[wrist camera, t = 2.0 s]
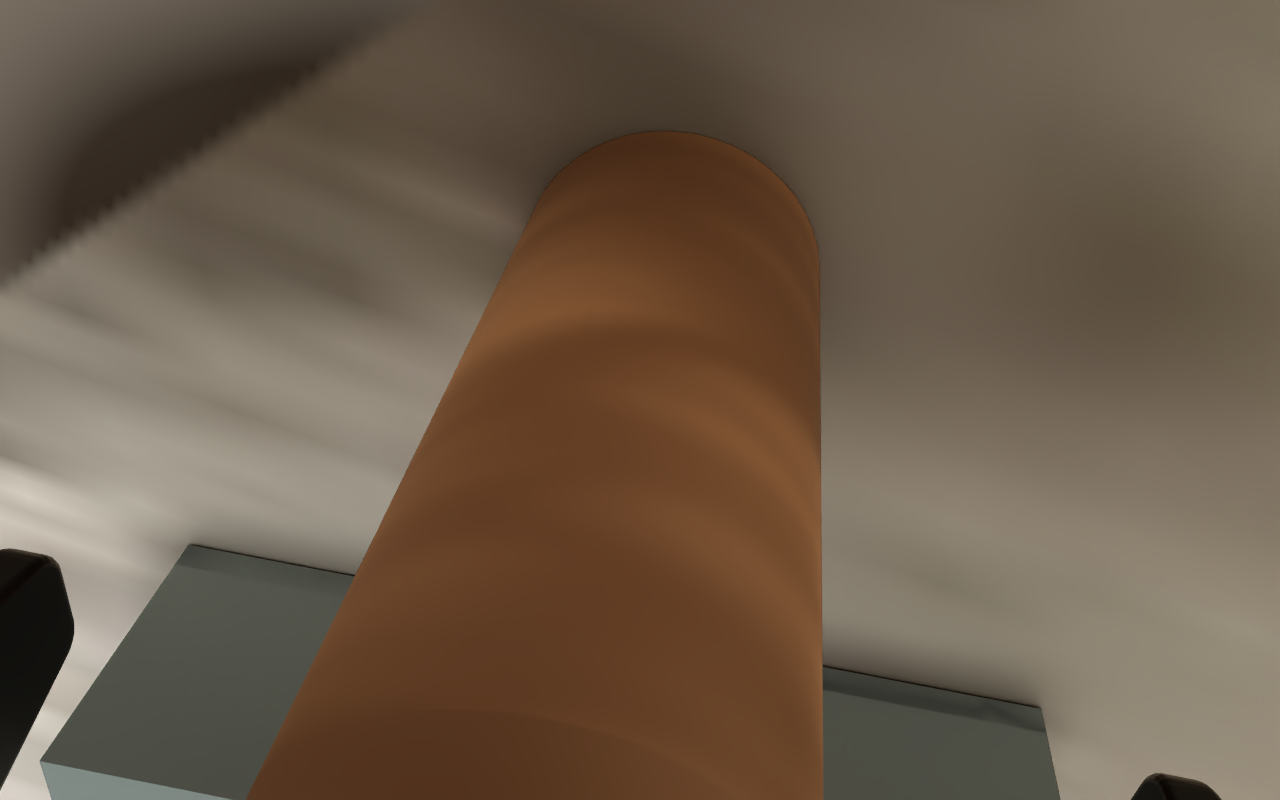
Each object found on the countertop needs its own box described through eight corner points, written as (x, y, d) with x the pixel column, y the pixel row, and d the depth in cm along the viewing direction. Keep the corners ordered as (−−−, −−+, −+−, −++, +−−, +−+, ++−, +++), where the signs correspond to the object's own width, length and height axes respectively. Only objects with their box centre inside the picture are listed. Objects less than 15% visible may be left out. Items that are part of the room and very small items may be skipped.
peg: (852, 161, 13) (896, 786, 6) (785, 417, 16) (758, 1088, 8) (536, 105, 14) (211, 652, 6) (515, 367, 16) (262, 987, 9)
